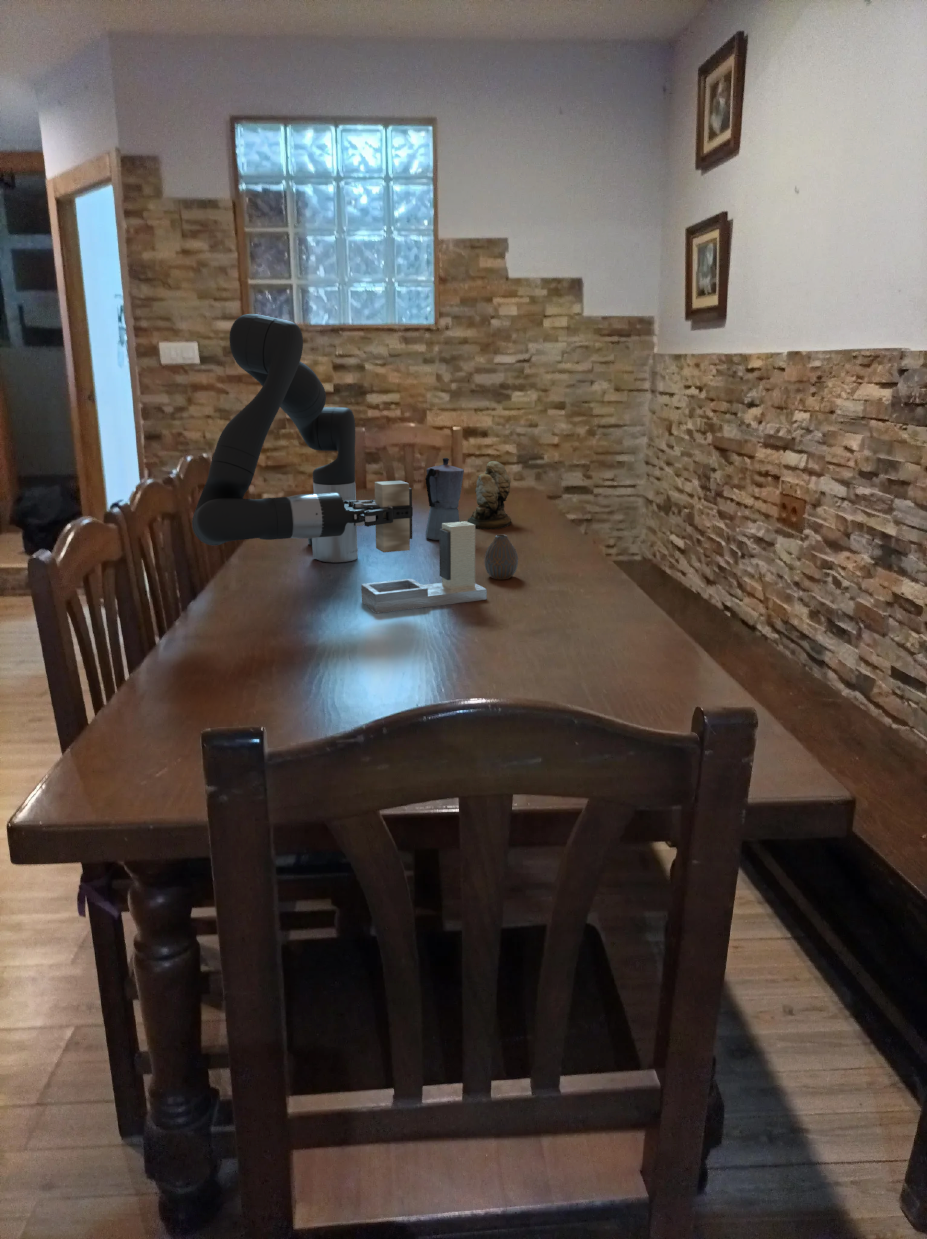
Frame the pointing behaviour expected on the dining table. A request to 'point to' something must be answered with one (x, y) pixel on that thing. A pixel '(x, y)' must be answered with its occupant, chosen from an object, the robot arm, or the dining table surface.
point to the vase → (501, 558)
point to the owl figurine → (491, 498)
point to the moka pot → (442, 496)
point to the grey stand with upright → (453, 589)
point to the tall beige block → (399, 530)
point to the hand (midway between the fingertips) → (406, 509)
